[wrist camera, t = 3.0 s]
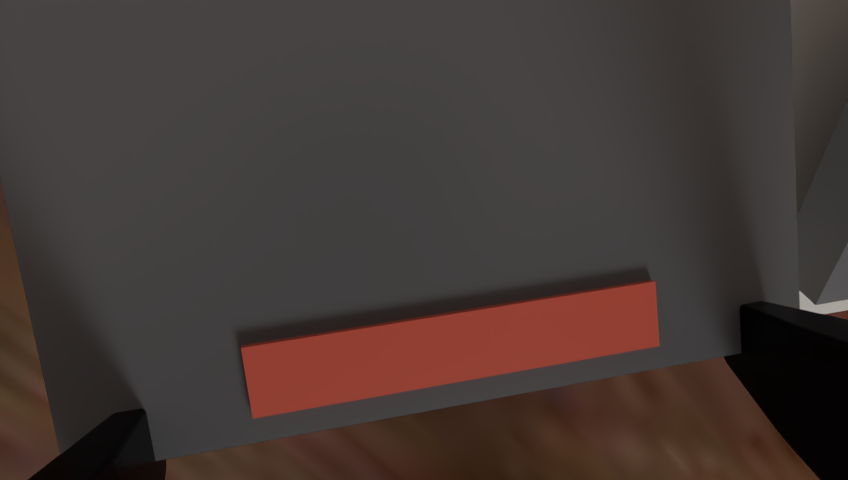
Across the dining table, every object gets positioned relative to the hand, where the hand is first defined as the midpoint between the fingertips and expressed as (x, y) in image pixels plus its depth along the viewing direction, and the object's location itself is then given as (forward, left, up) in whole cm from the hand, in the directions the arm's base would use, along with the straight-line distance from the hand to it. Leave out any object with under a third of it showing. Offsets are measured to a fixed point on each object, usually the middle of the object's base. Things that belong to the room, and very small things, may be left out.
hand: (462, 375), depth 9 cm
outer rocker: (0, -3, -2) cm, 3 cm away
